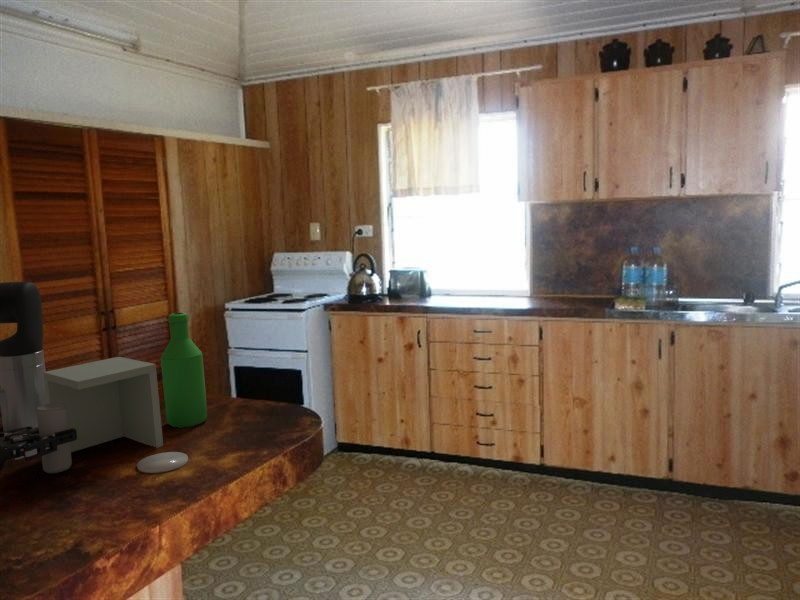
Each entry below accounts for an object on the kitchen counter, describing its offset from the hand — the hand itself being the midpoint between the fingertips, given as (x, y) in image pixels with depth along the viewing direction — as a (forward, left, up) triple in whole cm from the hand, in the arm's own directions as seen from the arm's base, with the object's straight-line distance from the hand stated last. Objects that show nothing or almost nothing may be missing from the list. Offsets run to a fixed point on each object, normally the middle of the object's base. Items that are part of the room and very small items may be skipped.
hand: (68, 431), depth 122 cm
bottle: (+22, +18, -7) cm, 29 cm away
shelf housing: (+6, +7, -7) cm, 12 cm away
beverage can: (-2, -1, -7) cm, 7 cm away
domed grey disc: (+16, -6, -7) cm, 18 cm away
